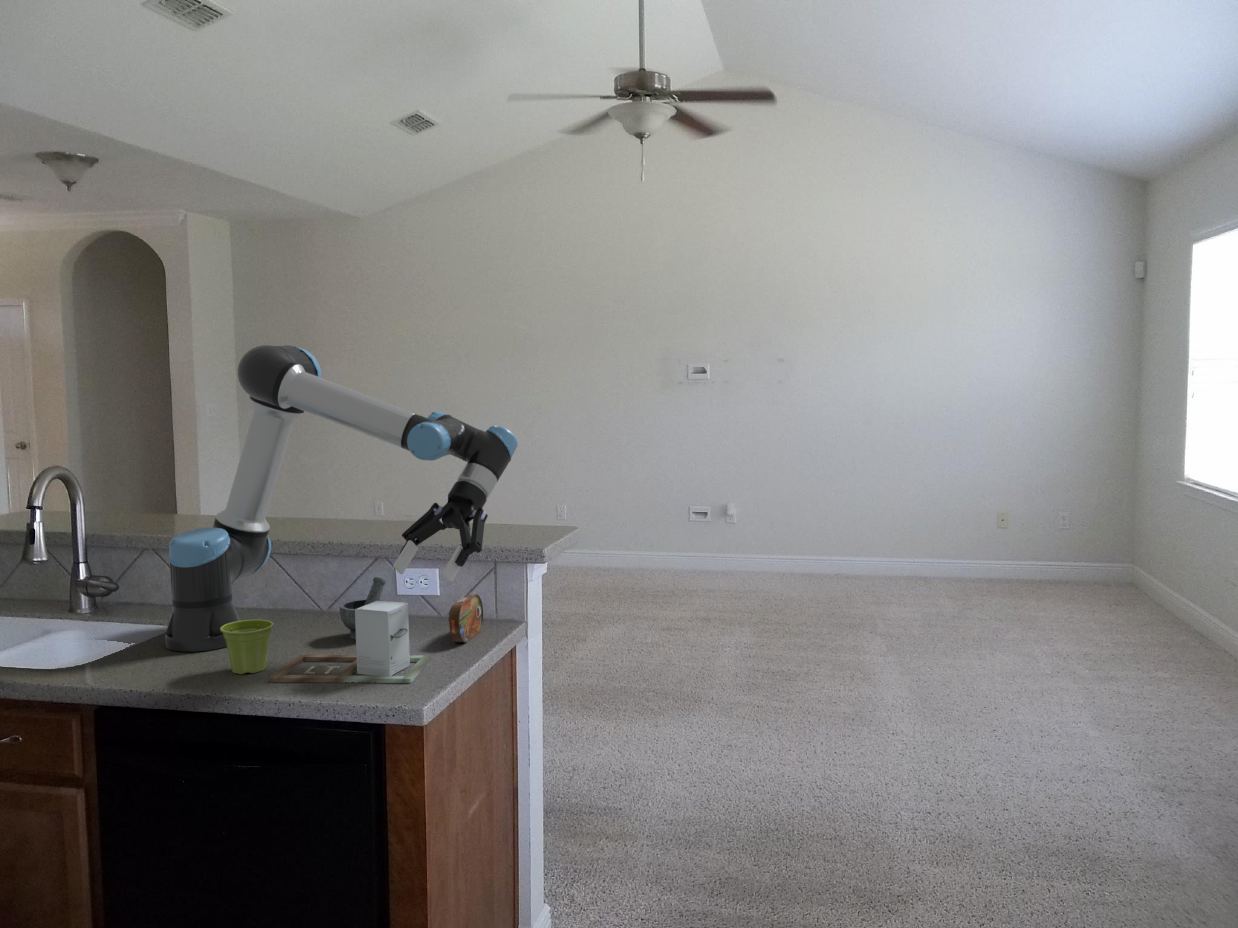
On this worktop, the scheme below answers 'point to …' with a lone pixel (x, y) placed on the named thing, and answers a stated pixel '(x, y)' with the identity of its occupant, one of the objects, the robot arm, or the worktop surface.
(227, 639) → the plant pot
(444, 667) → the worktop surface
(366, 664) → the supplement box
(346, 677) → the metal double frame
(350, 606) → the mortar and pestle
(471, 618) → the tin
